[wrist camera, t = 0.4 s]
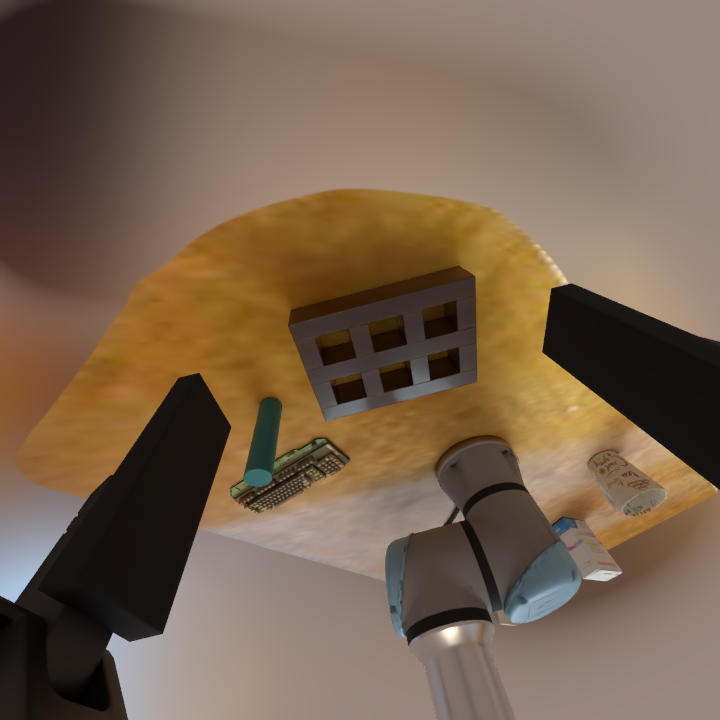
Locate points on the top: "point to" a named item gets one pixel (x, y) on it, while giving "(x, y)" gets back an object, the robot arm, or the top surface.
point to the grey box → (502, 618)
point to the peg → (263, 444)
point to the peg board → (390, 342)
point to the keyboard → (291, 476)
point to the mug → (625, 484)
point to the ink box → (586, 550)
